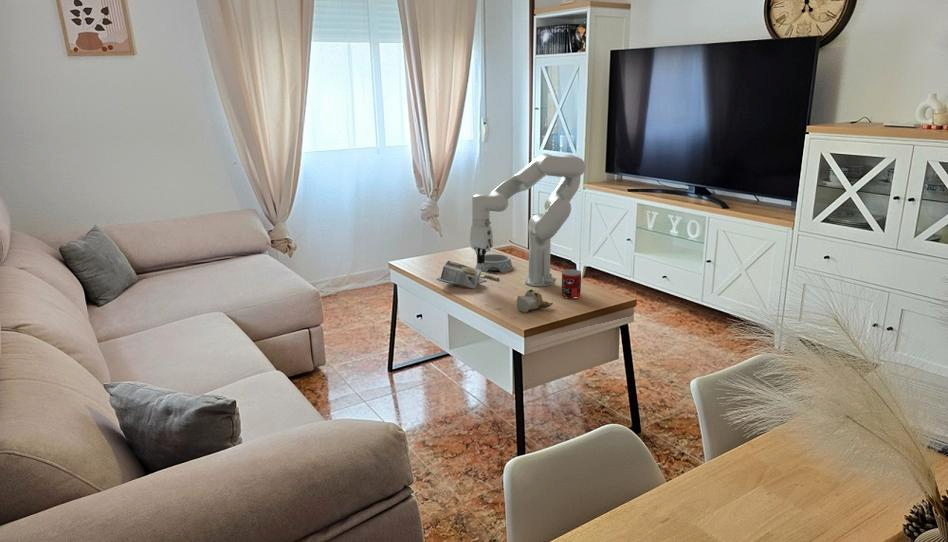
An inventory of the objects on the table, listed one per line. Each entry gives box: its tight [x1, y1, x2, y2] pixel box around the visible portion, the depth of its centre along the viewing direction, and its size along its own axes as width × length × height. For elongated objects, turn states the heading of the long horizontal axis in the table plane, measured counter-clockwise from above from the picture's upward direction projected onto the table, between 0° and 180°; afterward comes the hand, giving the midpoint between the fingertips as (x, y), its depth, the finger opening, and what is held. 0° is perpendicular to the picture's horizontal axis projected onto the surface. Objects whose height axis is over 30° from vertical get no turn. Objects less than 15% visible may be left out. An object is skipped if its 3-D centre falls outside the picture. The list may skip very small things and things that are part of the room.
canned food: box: [561, 268, 582, 298], centre depth 261 cm, size 8×8×11 cm
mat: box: [436, 277, 487, 289], centre depth 287 cm, size 19×14×1 cm
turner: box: [480, 272, 500, 282], centre depth 291 cm, size 15×4×1 cm, turn 46°
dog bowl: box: [475, 253, 513, 273], centre depth 306 cm, size 17×18×5 cm
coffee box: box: [440, 260, 482, 289], centre depth 278 cm, size 9×6×16 cm
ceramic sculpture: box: [516, 289, 554, 313], centre depth 248 cm, size 11×9×15 cm
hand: (480, 262), depth 275 cm, fingers closed
